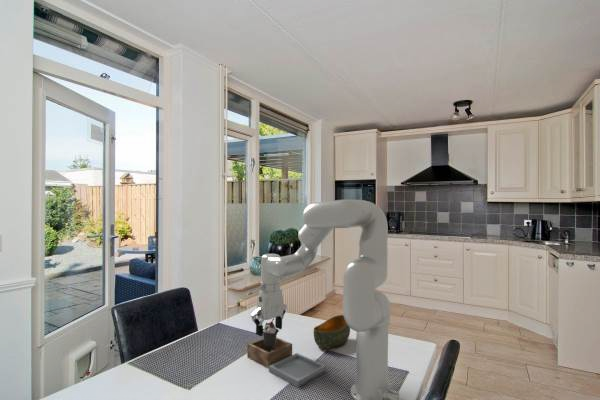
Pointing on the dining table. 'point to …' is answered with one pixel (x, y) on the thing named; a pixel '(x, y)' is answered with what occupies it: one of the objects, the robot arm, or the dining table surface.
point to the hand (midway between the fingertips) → (269, 331)
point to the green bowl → (332, 333)
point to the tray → (297, 369)
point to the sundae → (270, 335)
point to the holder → (261, 356)
